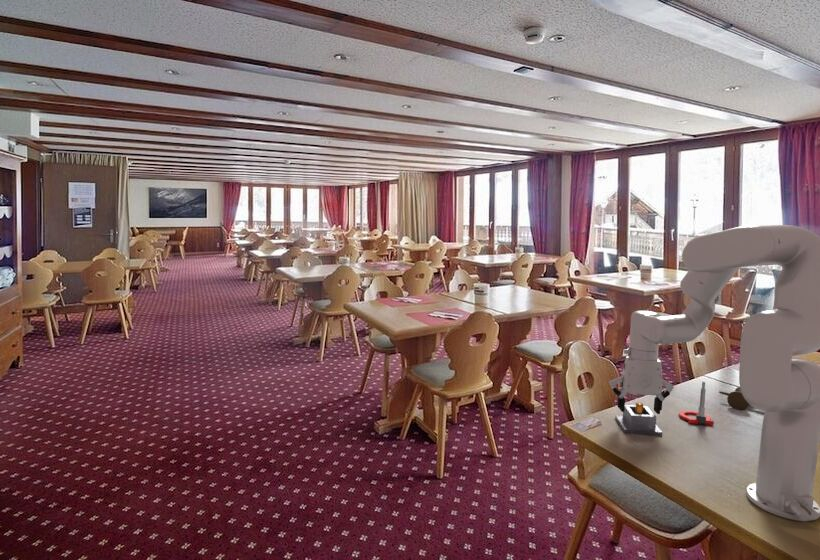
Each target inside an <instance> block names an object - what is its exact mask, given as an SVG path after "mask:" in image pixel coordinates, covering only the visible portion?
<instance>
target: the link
mask: <svg viewBox="0 0 820 560" xmlns="http://www.w3.org/2000/svg"><path fill="white" fill-rule="evenodd" d="M635 407H636V404H625V409H624V412H622V416H623V418H624V420H625V421H626V423H627V424H628V426H629V427H630V429H640V430H655V429H656V425H657V416H656V415H655V414H654V412H653V411H652V410H651V409H650V407H648V406H647V405H643V414H635Z"/></svg>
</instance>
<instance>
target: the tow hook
mask: <svg viewBox="0 0 820 560" xmlns="http://www.w3.org/2000/svg"><path fill="white" fill-rule="evenodd" d="M701 383H702V384H701V388H700V395H699V396H700V397H699V406H698V411H695V410H681V411H679V412H678V417H680V419H683V420H686V421H687V423H688V424H692V425H701V426H702V425H703V426H705V425H707V426H714V424H715V422H714V420H713V419H711V417H710V416H709V415H708V414H706V413H705V411H706V407H705V404H706V403H705V402H706V400H705V399H706V381H702V382H701ZM688 415H691V416H695V417H696V418H695V417H691V416H688Z"/></svg>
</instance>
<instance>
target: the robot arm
mask: <svg viewBox="0 0 820 560" xmlns="http://www.w3.org/2000/svg"><path fill="white" fill-rule="evenodd" d="M681 261H682V262H683V265H684V267H686V268H687V270H688V271H687V272H686V274H685V275H684V276H683V278H682V280H681V281H680V284H679V285H680V289H681V291H682V292H683V294H684V295H686V296H687V297H688V298H689V299H691V300H690V302H689V304H688V305H687V307H686V308H685V309H684V310H683V311H682V313H681V314H673V315H663V316H660V314H659V313H658V312H655V311H652V310H635V311H633V312H632V313H631V316H630V328H629V329H630V331H629V345H628V347H627V348H625V349H623V354H624V355H627V356H626V357H625V360H624V364H623V367H622V372H621V376H618V377H616V378H613V379H610V380H609V381H608V384H609V386H610V388H611V390H612V391H613V393H614V394H615V395H616V397H617V405H616V406H617V408H619V409H618V410H620V412H621V413H623V412H624V409H625V405H626V399H625V396H627V394H630V395H641V396H643V395H644V396H655V397H654V400H653V401H654V402H653V411H654V412H655V413H656V414H657V415H660V414H661V411H662V409H663V402H664V401H665V399H666V398H667V397H669V396H670V394H671V393H672V391H673V390H674V388H675V387H674V385H673V384H672V383H671V382H668V381H666V380H665V379H663V369H662V368H663V367H662V362H661V360H660V359H659V348H660V347H659V345H660V346H662V345H663V346H665V345H672V344H678V343H679V344H681V343H688V342H692V341H694V340H695V339H697V338H699V336H701V335H702V333H703V332H704V331H705V330H706V329H707V328H708V326H709V325H710V323H711V321H712V320H713V318H714V316H715V310H716V303H715V300H716V299H717V297H718V296H719V294H720V293H721V292H722V291H723V290H724V288H725V287H726V286H727V285H728V283H729V282H730V281H731V280H732V279H733V277H734V276H735V274H736V273H737V272H738V271H739V270H740V268H745V267H757V266H758V267H759V266H763V267H764V266H777V265H778V266H780V267H781V268H782V269H781V270H780V272H779V275H778V276H777V279H776V282H775V285H774V290H773V291H774V294H773V295H774V299H773V307H772V309H770V310H769V309H768V310H763V311H759V312H756V313H755V314H753V315H751V316H750V317H749V318H748V319H747V320H746V321H745V323H744V325H743V327H742V330H741V334H740V344H739V347H740V348H739V371H738V375H739V378H738V382H739V383H738V384H739V387H740V389H741V392H742V395H743V397H744V398H745V400H746V401H747V402H748V403H749V406H751V407H753V408H754V409H755V410H758V411H761V412H764V415H763V418H762V419H763V420H762V425H761V427H762V428H761V432H760V441H759V442H760V443H759V450H758V451H759V452H758V459H757V460H758V462H757V471H756V479H755V482H753V483H751V484H748V485H747V486H746V488H745V489H746V492H745V494H746V496H747V499H749V501H751V503H753V504H754V505H756V506H757V507H758V508H759V509H762V510H763V511H766V512H768V513H770V514H773V515H775V516H778V517H781V518H784V519H787V520H792V521H798V522H811V521H816V520H817V519H819V518H820V506H819V504H818V503H817V502H816V501H815V499H814V496H813V492H814V487H815V477H816V471H817V470H816V469H817V463H818V462H817V461H818V455H819V446H820V365H818V364H817V363H816V362H813V361H810V360H806V359H799V358H798V359H797V358H795V359H794V358H793V357H796V356H802V355H808V354H811V353H815V352H818V351H819V350H820V235H818V234H817V233H815V232H813V231H811V230H810V229H807V228H805V227H804V228H803V227H801V226H796V225H790V224H767V225H766V224H765V225H764V224H760V225H759V224H756V225H754V224H751V225H742V226H737V227H733V228H728V229H724V230H720V231H715V232H711V233H707V234H702V235H698V236H696V237H694V238H692V239H691V240H689V241H688V242H687V243H686V245H685V246H684V248H683V250H682V253H681ZM618 384H620V385H621V386H620V389H618V388H617V386H616V385H618ZM663 386H664V387H665V389H663Z"/></svg>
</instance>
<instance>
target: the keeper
mask: <svg viewBox="0 0 820 560" xmlns="http://www.w3.org/2000/svg"><path fill="white" fill-rule="evenodd" d="M635 405H636V407H635V414H643V406H644V404H643V403H642V402H635ZM615 420H616V422H617V423H618V425H619V427H620V426H621V427H620V428H621V430H622V429H623V430H622V431H623V433H624V434H631V433H632V434H633V435H644V436H646V435H647V436H661V437H662V436H663V431H662V429H661V428H659V426H658V425H657V424H656V429H655V430H640V429H630V427H629V426H628V424H627V423H626V421H625V420H624V418H623V415H617V414H615Z"/></svg>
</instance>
